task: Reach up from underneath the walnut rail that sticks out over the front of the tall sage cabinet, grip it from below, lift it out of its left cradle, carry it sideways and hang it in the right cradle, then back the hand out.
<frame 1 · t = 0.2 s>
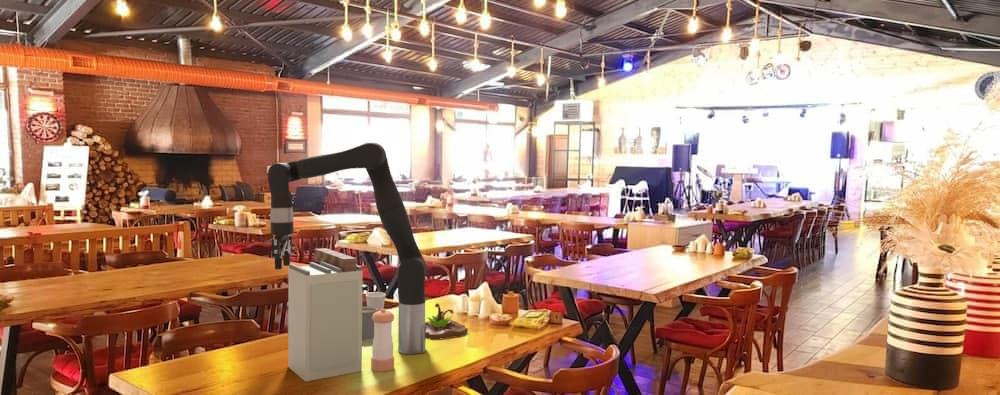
hand: (282, 267, 223), 29 cm above the table, tool pointing down, fingers open, 8 cm apart
dixie cup: (375, 318, 272), on the table
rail: (334, 265, 210), point 32 cm above the table, touching cabinet
hinge: (309, 327, 255), on the table
coffee mug: (362, 335, 246), on the table
cabinet: (324, 369, 205), on the table
pepper shaker: (382, 368, 207), on the table
plant: (439, 333, 252), on the table
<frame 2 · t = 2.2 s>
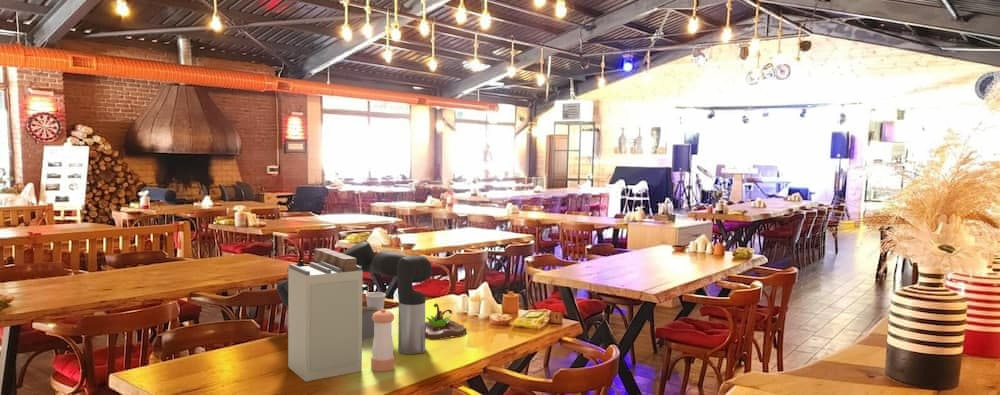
hand: (314, 261, 227), 30 cm above the table, tool pointing upward, fingers open, 8 cm apart
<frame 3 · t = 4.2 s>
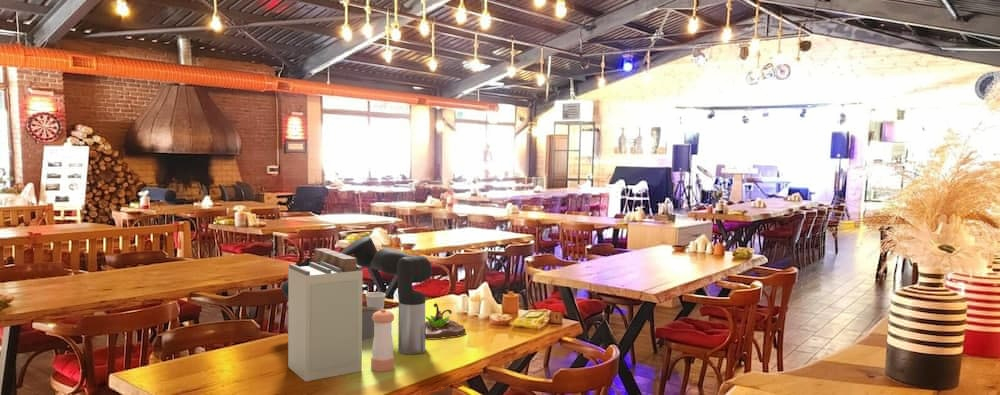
hand: (322, 258, 219), 33 cm above the table, tool pointing upward, fingers open, 8 cm apart
nothing on the table moved.
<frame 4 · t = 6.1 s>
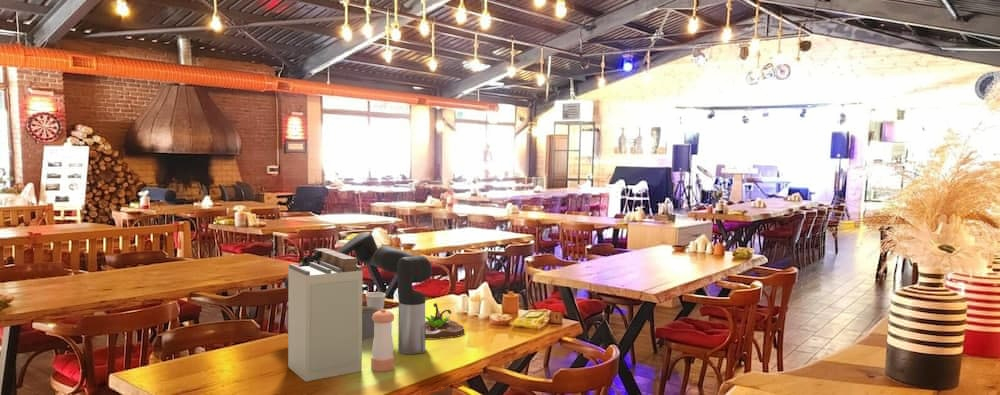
hand: (327, 252, 215), 35 cm above the table, tool pointing upward, fingers closed on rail, 4 cm apart
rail: (334, 265, 210), point 32 cm above the table, touching cabinet, gripper
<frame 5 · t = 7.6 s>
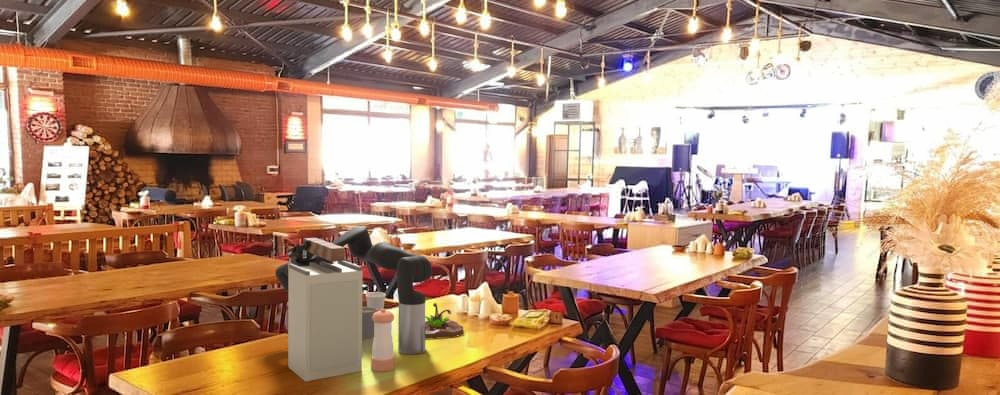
hand: (316, 242, 213), 39 cm above the table, tool pointing upward, fingers closed on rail, 4 cm apart
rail: (323, 255, 207), point 36 cm above the table, touching gripper
when the fingers open (36 cm above the table, at t = 9.6 s): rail stays where it is, resting on cabinet.
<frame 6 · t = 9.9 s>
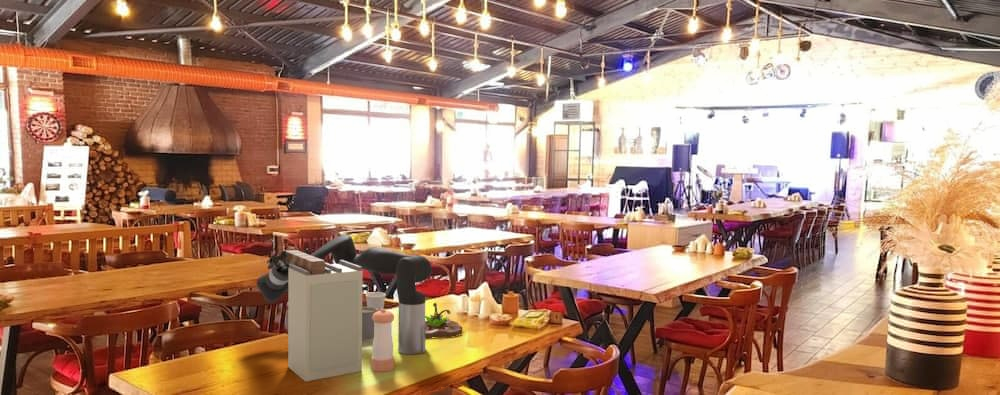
hand: (296, 252, 209), 36 cm above the table, tool pointing upward, fingers open, 6 cm apart
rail: (303, 268, 204), point 32 cm above the table, touching cabinet
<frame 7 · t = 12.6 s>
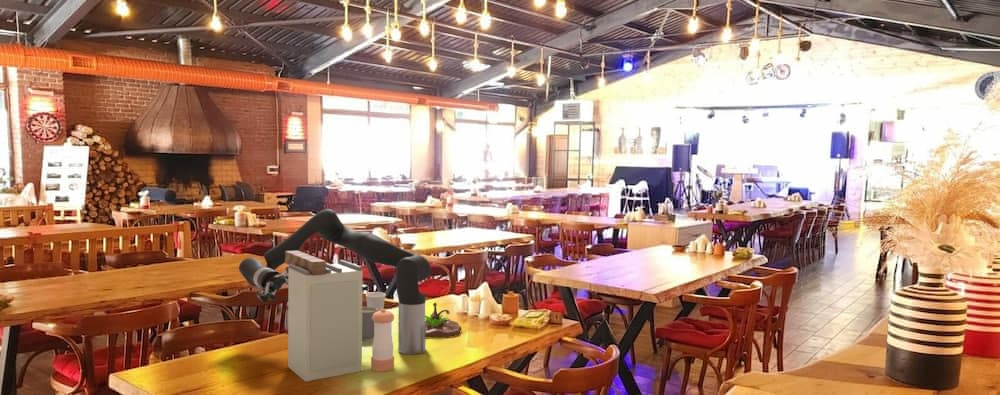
hand: (284, 288, 209), 24 cm above the table, tool horizontal, fingers open, 8 cm apart
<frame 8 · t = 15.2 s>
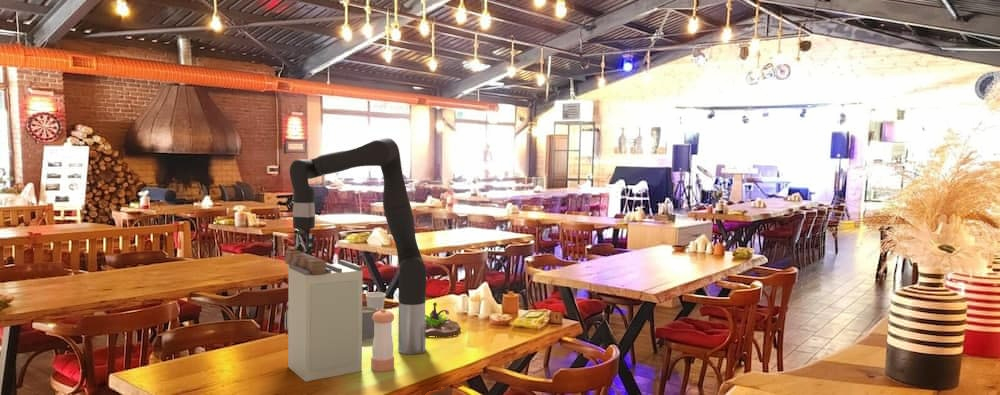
hand: (303, 260, 231), 30 cm above the table, tool pointing down, fingers open, 8 cm apart
at the end: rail inside the target area (0.9 cm from its centre), point 32.0 cm above the table; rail touching cabinet; the gripper is holding nothing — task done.
